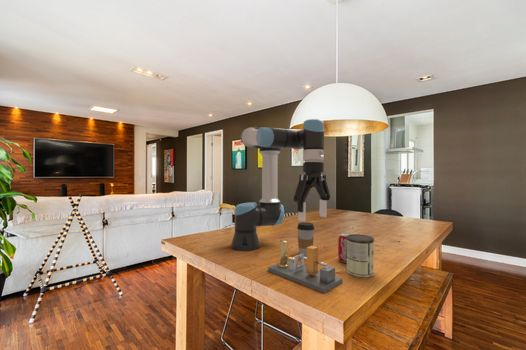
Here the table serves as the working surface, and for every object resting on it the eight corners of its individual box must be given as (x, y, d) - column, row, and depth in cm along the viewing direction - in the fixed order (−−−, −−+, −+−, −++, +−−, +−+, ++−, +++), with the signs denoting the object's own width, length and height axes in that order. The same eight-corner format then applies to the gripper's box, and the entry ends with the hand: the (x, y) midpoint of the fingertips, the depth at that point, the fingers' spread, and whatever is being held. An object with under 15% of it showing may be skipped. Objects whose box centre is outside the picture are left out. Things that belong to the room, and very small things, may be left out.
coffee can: (345, 266, 107) (345, 233, 107) (370, 268, 104) (371, 234, 104) (347, 276, 97) (347, 239, 97) (376, 278, 94) (376, 241, 94)
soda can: (357, 263, 110) (357, 236, 110) (342, 264, 109) (342, 236, 109) (349, 258, 117) (349, 232, 117) (335, 258, 116) (335, 233, 116)
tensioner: (319, 281, 88) (319, 268, 88) (327, 277, 91) (327, 265, 91) (327, 284, 86) (327, 271, 86) (334, 280, 89) (335, 267, 89)
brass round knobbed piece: (275, 265, 103) (275, 241, 103) (283, 262, 107) (283, 239, 107) (290, 271, 97) (291, 245, 97) (298, 267, 101) (299, 243, 101)
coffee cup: (314, 258, 117) (314, 226, 117) (296, 256, 119) (296, 225, 119) (314, 252, 125) (314, 222, 125) (297, 251, 127) (297, 221, 127)
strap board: (268, 270, 101) (268, 267, 101) (287, 263, 109) (287, 260, 109) (324, 293, 82) (324, 288, 82) (342, 282, 91) (342, 278, 91)
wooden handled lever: (293, 270, 96) (294, 245, 96) (302, 266, 100) (302, 242, 99) (323, 281, 86) (323, 253, 86) (331, 276, 90) (331, 249, 90)
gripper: (301, 159, 82) (300, 224, 82) (339, 162, 99) (339, 216, 99) (283, 160, 87) (283, 221, 87) (322, 163, 104) (322, 214, 104)
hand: (312, 219), depth 93 cm, fingers open, 13 cm apart
